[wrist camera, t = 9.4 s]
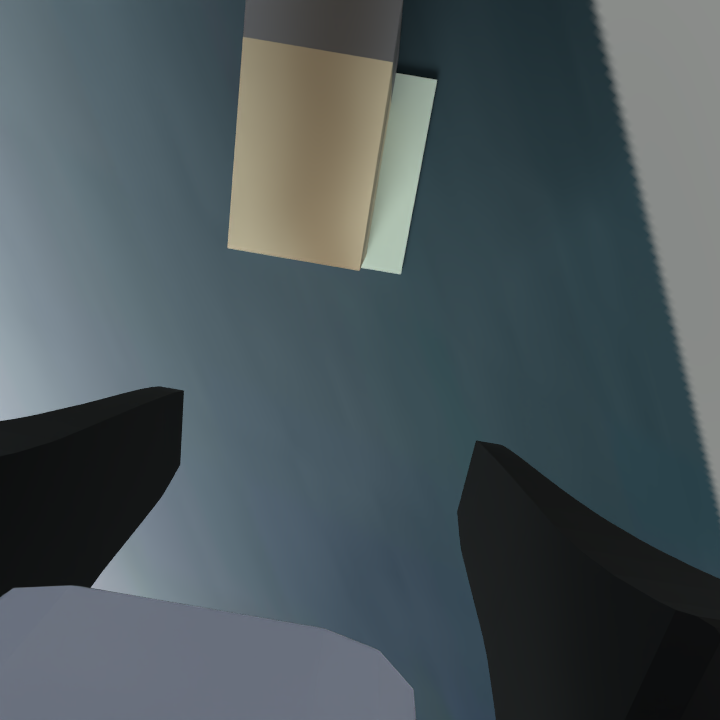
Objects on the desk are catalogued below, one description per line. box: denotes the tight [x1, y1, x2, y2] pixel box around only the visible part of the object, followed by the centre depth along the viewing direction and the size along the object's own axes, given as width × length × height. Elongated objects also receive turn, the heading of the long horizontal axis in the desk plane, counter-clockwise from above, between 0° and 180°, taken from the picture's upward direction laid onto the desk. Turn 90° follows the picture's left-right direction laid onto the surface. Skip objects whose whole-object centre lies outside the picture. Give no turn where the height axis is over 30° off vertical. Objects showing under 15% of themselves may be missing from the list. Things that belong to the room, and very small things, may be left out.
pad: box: [361, 73, 437, 274], centre depth 18 cm, size 7×7×1 cm
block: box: [228, 0, 403, 270], centre depth 15 cm, size 4×7×5 cm, turn 171°
